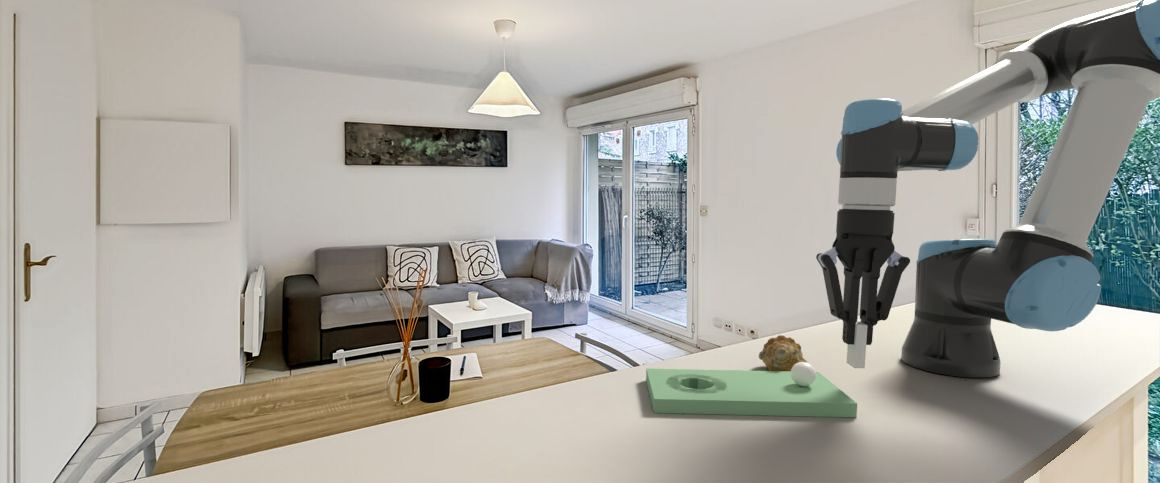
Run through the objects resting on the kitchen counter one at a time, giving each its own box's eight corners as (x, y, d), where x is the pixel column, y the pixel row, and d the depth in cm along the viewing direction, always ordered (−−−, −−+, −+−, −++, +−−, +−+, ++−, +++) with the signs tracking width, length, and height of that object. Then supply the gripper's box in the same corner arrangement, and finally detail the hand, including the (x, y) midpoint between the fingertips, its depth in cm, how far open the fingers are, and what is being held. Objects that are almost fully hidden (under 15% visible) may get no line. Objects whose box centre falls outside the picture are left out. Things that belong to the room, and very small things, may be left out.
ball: (810, 382, 88) (811, 359, 87) (819, 390, 84) (820, 366, 84) (786, 381, 88) (787, 358, 88) (794, 389, 84) (795, 365, 84)
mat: (818, 384, 93) (818, 372, 93) (856, 417, 79) (857, 403, 79) (646, 380, 94) (646, 368, 94) (654, 412, 80) (654, 398, 80)
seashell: (814, 394, 97) (814, 351, 92) (765, 398, 99) (762, 356, 94) (802, 356, 105) (800, 314, 100) (756, 360, 107) (753, 320, 102)
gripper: (897, 208, 87) (887, 359, 89) (811, 206, 87) (802, 357, 89) (925, 209, 80) (913, 374, 81) (831, 207, 80) (821, 371, 82)
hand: (855, 365), depth 85 cm, fingers closed
